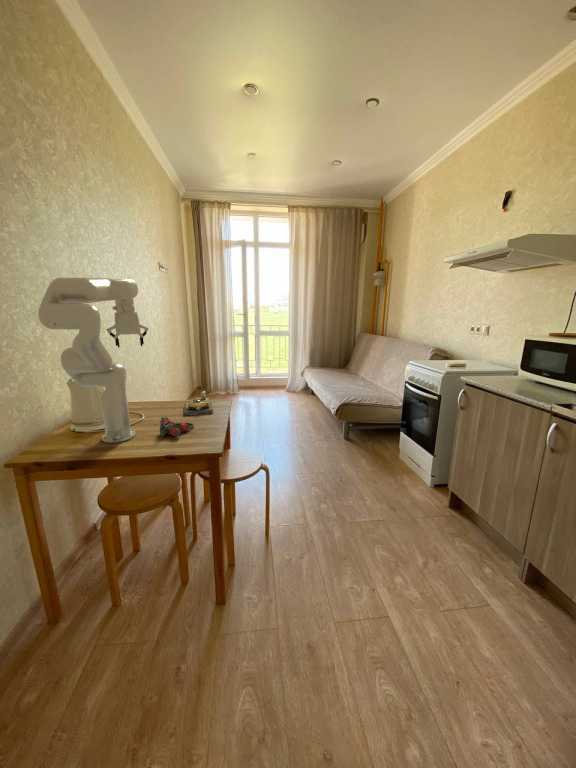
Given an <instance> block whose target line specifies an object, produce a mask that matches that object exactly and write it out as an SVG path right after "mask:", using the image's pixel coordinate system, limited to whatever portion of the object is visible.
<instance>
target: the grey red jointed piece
mask: <svg viewBox="0 0 576 768" xmlns="http://www.w3.org/2000/svg"><path fill="white" fill-rule="evenodd" d="M160 419H161V420H162V421H161V422H160V425H159V433H160V436H161V438H164V437H165V435H166V434H169V435H171V436H174V437H178V436H180V435H181V434H182V433H186V432H188V431H189V429H193V428H194V427H195V425H194V424H193V423H190V422H174V421H172V420H170V418H169V417H167V416H165V417H164V416H161V417H160Z"/></svg>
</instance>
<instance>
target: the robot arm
mask: <svg viewBox="0 0 576 768" xmlns="http://www.w3.org/2000/svg"><path fill="white" fill-rule="evenodd" d="M138 293H139V286H138V284H137V283H136V281H135V280H134V279H129V278H128V279H127V278H108V277H107V278H106V277H56V278H55V279H53V280H52V281H51V282H50V284H49V285H48V287H47V288H46V290H45V293H44V295H43V297H42V300H41V301H40V302H41V303H40V305H39V308H38V320H39V321H40V323H41V325H42V326H43V327H45V328H47V329H50V330H78V332H77V334H76V335H75V337H74V338H73V341H72V343H71V345H72V346H71V347H67V348H65V349H64V350H63V351H62V352H61V355H60V364H61V366H62V369H63V370H64V372H65V373H66V374H67V375H68V376H69V377H70V378H71V379H73V381H75V383H77V385H79V386H81V387H83V388H105V389H104V391H103V392H102V393H101V395H100V397H99V402H100V408H101V413H102V420H103V425H104V426H103V427H104V432H105V433H104V434H102V436H101V441H103V442H104V443H106V444H108V443H110V444H114V443H120V442H125V441H128V440H130V439H132V438H134V437H135V436H136V434H137V433H136V430H135V429H133V428H132V427H131V425H132V424H131V420H130V419H131V418H130V410H129V403H128V397H127V396H128V395H127V370H126V368H125V366H124V365H122V364H120V363H117V362H116V363H115V362H113V358H112V356H111V354H110V352H108V350H107V348H106V347H105V346H104V345H103V343H102V341H101V340H100V339H101V338H100V335H101V324H102V323H101V322H102V321H101V314H100V311H99V310H98V308H97V307H96V306H95V305H92V304H94V303H99V302H100V303H101V302H106V301H107V302H109V301H114V303H115V306H111V308H112V310H114V311H115V312H114V325H111V326H110V327H108V328H107V329H106V331H107V333H108V335H110V336H111V337H112V338H113V339H114V340H115V341H114V342H115V346H117V348H121V345H120V339H119V337H120V335H121V336H123V335H124V336H125V335H127V336H128V335H138V336H139V343H140V347H143V345H144V344H145V343H144V342H145V341H144V337H145V336H147V333H148V331H149V328H148V327H147V326H144V325H142V324H140V319H139V315H138V312H136V309H135V303H134V301H135V299H134V298H136V297H137V296H138ZM114 329H115V333H116V334H114V333H113V332H112V331H113V330H114ZM141 329H143V330H144V331H143V333H141Z"/></svg>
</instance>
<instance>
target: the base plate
mask: <svg viewBox="0 0 576 768" xmlns="http://www.w3.org/2000/svg"><path fill="white" fill-rule="evenodd" d="M209 401H210V406H209V407H206V408H202V409H199V410H197V409H187V408H186V402H184V407H183V409H184V410H183V411H184V412H183V413H184V414H183V415H188V416H192V415H191V414H198V415H203V414H202V413H209V414H213V413H214V412H213V411H214V410H213V405H212V401H211V400H209Z"/></svg>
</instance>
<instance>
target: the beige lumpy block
mask: <svg viewBox="0 0 576 768" xmlns="http://www.w3.org/2000/svg"><path fill="white" fill-rule="evenodd" d="M206 393H207V392H206V391H205V390H203V391H200V395H201V396H200V397H195V398H191V399H187V400H186V401H185V403H186V408H187V409H197V410H199V409H202V408H206V407H209V406H210V401H211V400H210V398H209V397H208V398H207V394H206Z"/></svg>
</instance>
